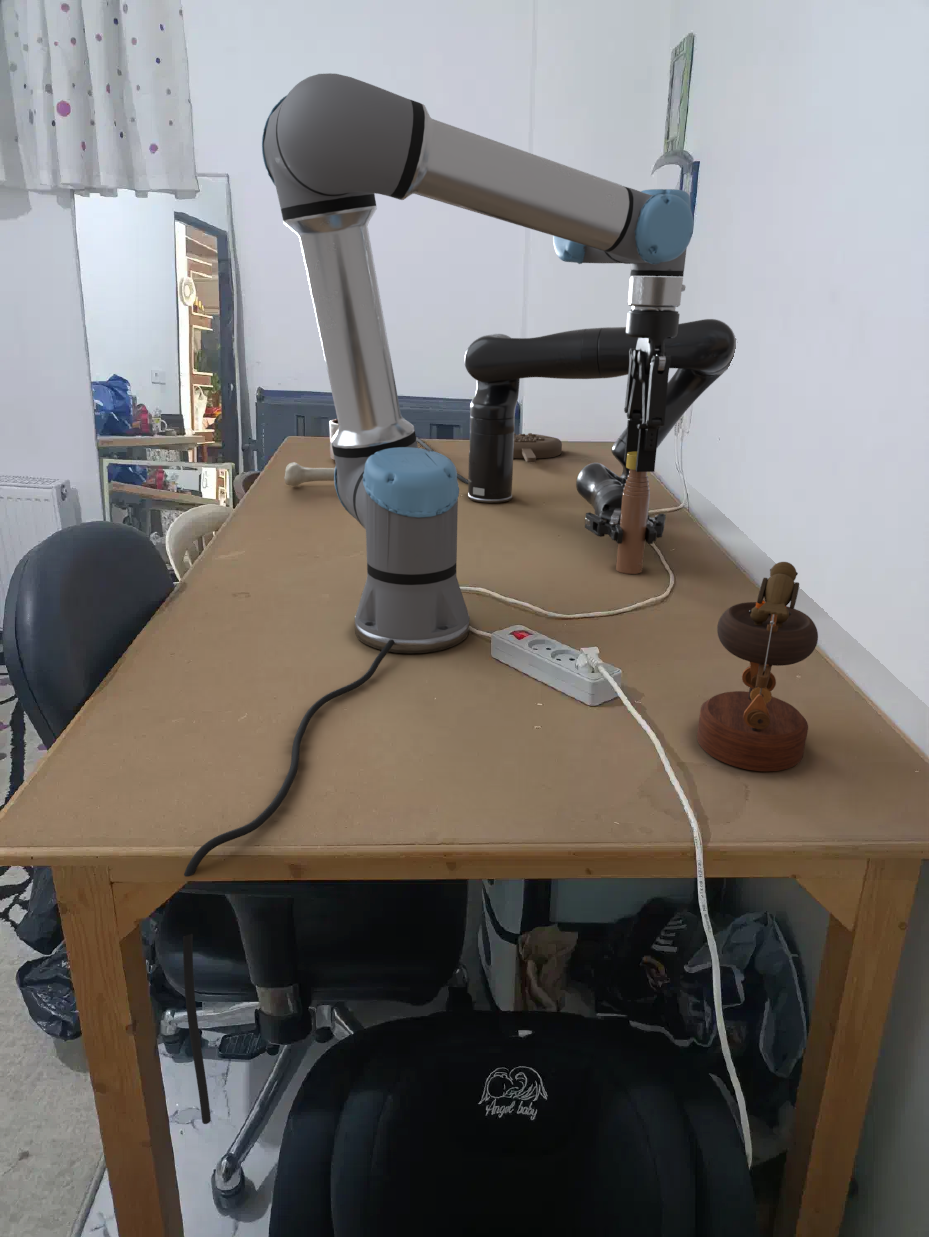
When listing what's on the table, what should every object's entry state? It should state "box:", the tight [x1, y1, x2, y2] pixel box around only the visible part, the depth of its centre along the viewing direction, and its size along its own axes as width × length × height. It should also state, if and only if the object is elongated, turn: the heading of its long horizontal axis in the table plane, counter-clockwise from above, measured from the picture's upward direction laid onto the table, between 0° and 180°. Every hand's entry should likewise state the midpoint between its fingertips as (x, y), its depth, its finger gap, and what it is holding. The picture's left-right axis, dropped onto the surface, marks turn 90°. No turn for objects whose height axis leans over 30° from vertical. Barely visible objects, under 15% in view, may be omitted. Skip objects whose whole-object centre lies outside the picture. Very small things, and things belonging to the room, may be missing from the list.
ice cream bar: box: [513, 432, 563, 463], centre depth 220 cm, size 21×28×4 cm
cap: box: [626, 451, 637, 470], centre depth 131 cm, size 4×4×2 cm
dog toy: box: [283, 461, 335, 487], centre depth 188 cm, size 20×6×5 cm, turn 99°
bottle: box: [615, 469, 651, 575], centre depth 135 cm, size 4×4×18 cm
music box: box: [696, 561, 819, 772], centre depth 84 cm, size 15×11×20 cm
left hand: (638, 466), depth 132 cm, fingers open, 6 cm apart
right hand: (635, 537), depth 133 cm, fingers closed on bottle, 4 cm apart
